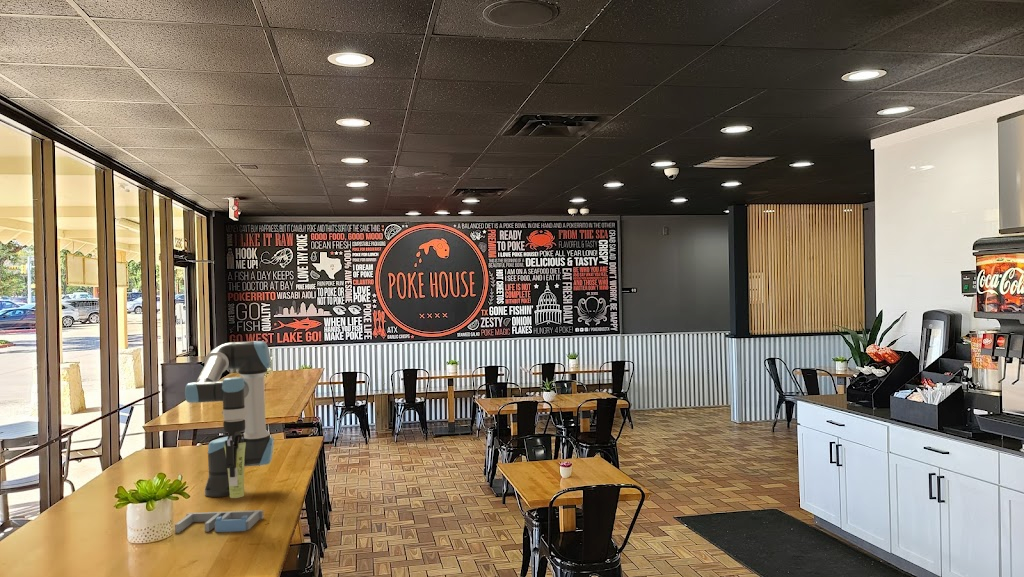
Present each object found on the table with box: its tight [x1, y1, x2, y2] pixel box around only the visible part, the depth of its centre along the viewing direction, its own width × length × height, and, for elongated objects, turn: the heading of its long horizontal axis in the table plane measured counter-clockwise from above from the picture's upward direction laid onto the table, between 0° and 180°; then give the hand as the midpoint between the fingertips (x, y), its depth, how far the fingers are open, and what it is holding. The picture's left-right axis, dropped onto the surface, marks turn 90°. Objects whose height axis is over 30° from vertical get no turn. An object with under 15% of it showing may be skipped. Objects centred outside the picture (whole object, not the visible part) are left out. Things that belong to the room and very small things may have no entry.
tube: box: [224, 442, 246, 499], centre depth 272 cm, size 6×5×20 cm
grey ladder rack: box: [174, 509, 264, 534], centre depth 273 cm, size 15×28×5 cm, turn 92°
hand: (236, 483), depth 272 cm, fingers closed on tube, 5 cm apart
